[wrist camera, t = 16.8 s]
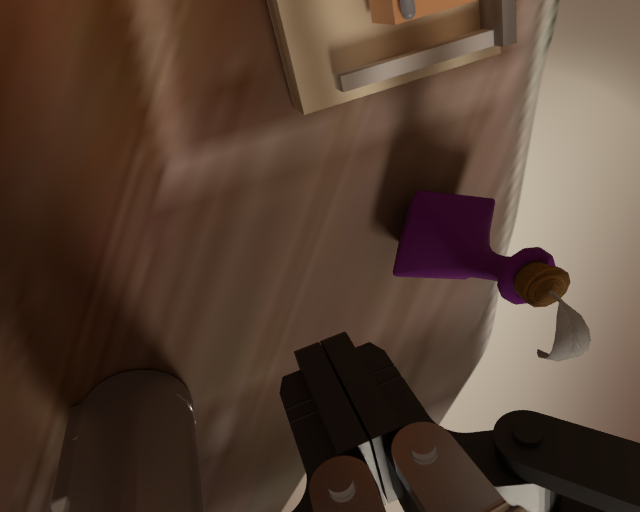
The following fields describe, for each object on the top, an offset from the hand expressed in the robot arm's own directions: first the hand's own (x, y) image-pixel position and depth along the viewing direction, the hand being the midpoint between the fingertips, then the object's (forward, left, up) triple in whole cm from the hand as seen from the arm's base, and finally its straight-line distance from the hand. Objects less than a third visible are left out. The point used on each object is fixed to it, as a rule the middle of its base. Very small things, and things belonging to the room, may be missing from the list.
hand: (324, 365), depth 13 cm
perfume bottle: (+15, -12, -25) cm, 32 cm away
